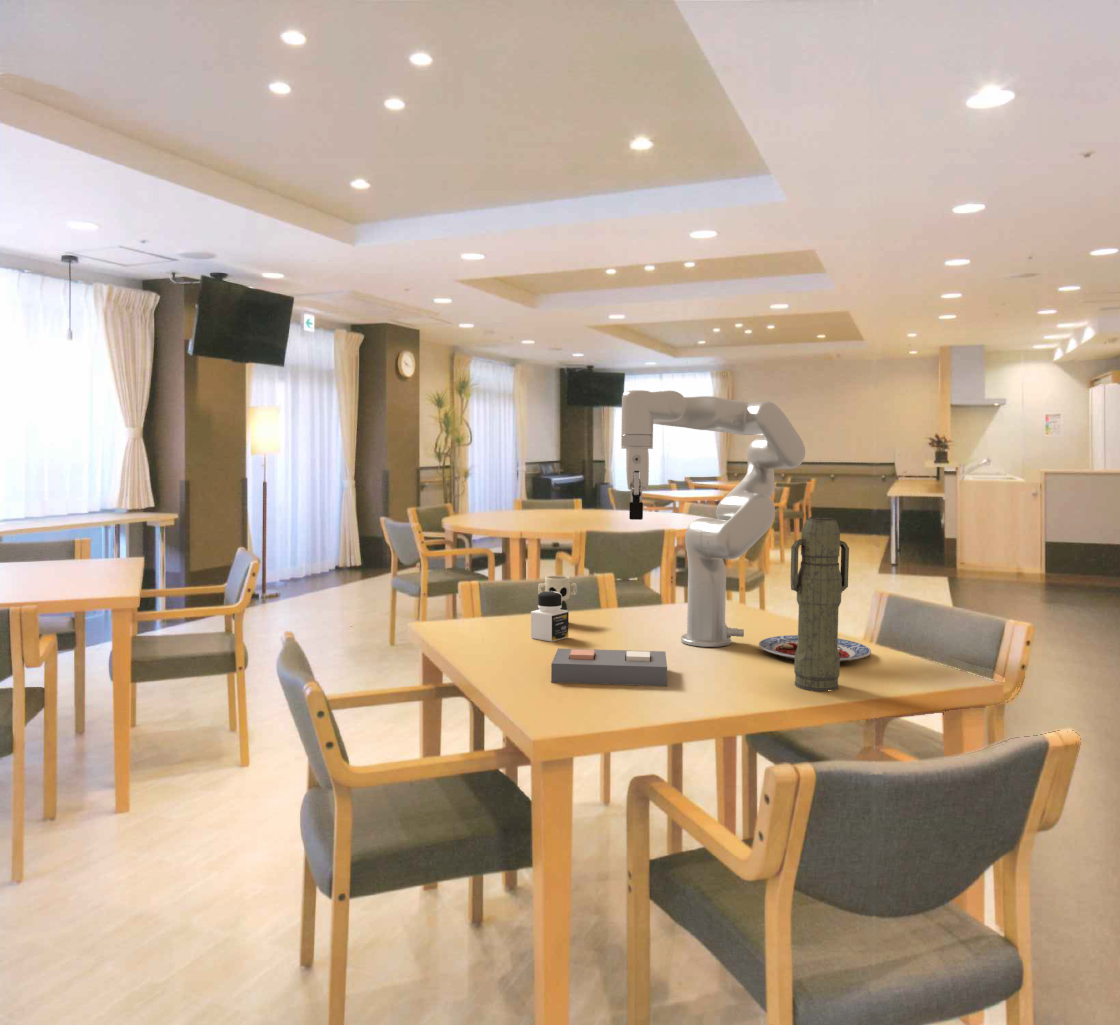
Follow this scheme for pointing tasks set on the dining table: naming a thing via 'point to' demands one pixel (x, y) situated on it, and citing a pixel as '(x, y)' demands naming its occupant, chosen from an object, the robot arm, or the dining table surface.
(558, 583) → the character mug
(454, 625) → the dining table surface
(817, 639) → the thermos
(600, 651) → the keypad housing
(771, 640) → the ceramic plate
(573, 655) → the terracotta key
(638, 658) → the ivory key
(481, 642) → the dining table surface
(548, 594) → the medicine bottle
